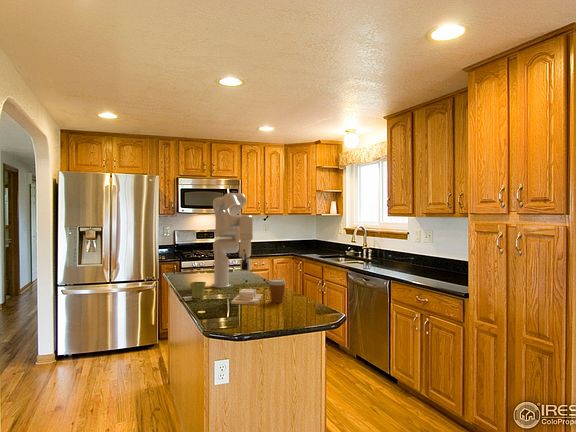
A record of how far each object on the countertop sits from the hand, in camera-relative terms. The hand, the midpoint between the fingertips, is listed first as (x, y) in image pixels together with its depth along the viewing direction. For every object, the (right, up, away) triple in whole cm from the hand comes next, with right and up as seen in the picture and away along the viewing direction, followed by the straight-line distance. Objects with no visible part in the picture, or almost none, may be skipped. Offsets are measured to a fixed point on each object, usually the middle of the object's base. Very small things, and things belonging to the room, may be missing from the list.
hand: (245, 268), depth 230 cm
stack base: (+1, -18, 0) cm, 18 cm away
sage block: (0, -1, 0) cm, 1 cm away
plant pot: (-28, -18, +6) cm, 34 cm away
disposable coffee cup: (+18, -18, -3) cm, 26 cm away
